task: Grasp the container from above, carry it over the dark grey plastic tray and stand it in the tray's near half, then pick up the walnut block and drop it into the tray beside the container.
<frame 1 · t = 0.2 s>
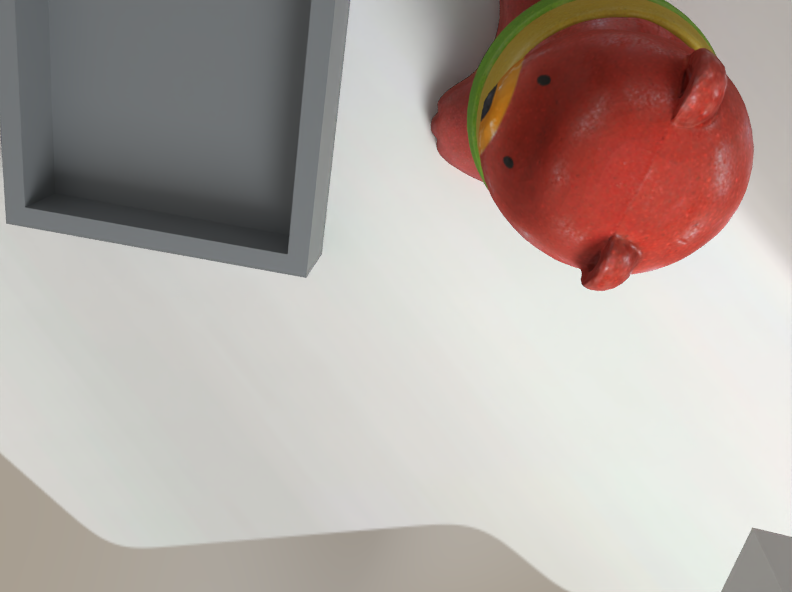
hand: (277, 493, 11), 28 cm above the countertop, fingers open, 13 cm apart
stacking bear: (566, 91, 35), on the countertop
tray: (189, 7, 35), on the countertop
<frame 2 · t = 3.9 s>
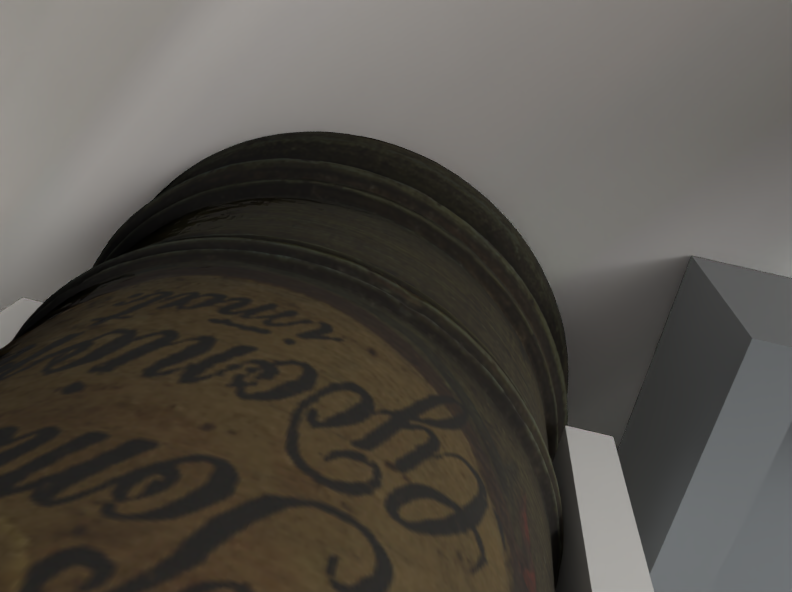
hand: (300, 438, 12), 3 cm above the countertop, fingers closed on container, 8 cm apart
container: (340, 344, 15), on the countertop, touching gripper
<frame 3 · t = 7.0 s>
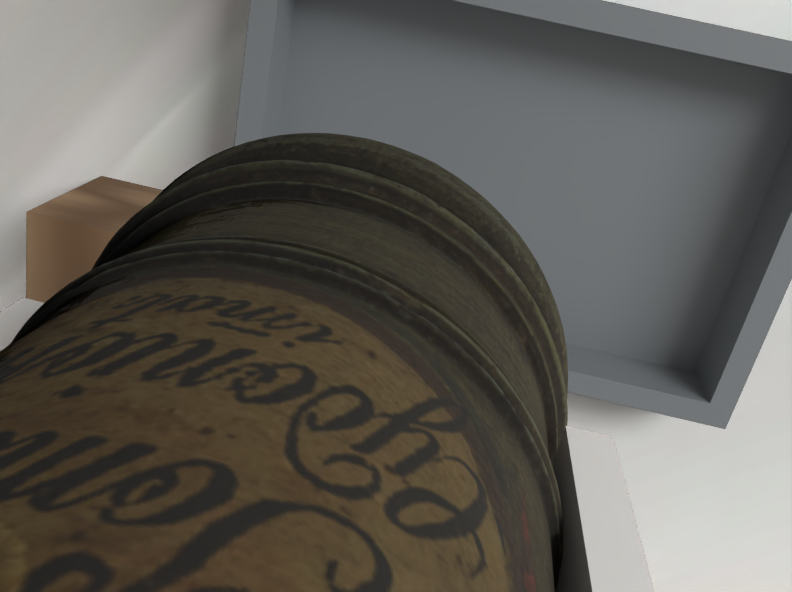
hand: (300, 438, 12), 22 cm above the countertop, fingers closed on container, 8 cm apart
walnut block: (141, 226, 35), on the countertop
container: (340, 345, 15), point 18 cm above the countertop, touching gripper
tray: (510, 178, 32), on the countertop
when the fingers open (6 cm above the countertop, at t = 10.2 s): container drops 1 cm, resting on tray.
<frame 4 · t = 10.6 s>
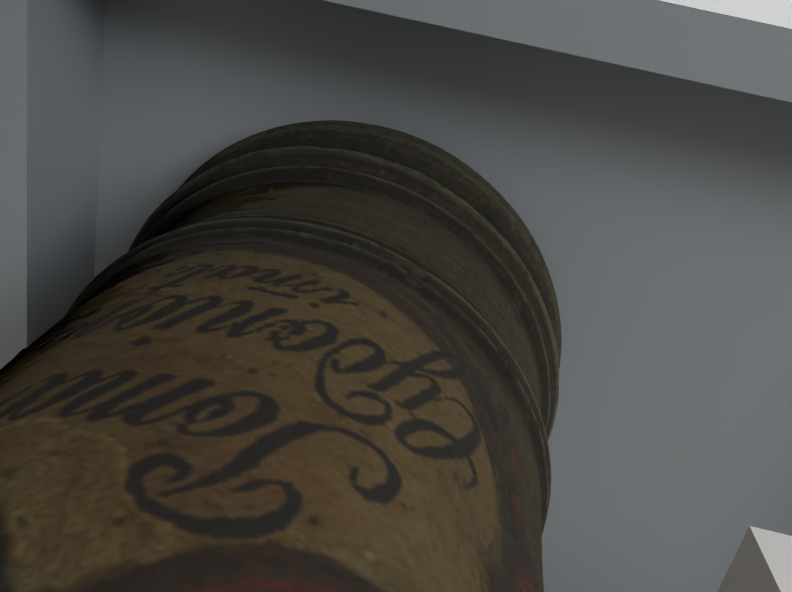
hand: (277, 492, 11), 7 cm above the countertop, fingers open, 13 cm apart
container: (353, 315, 17), point 1 cm above the countertop, touching tray
tray: (527, 341, 17), on the countertop
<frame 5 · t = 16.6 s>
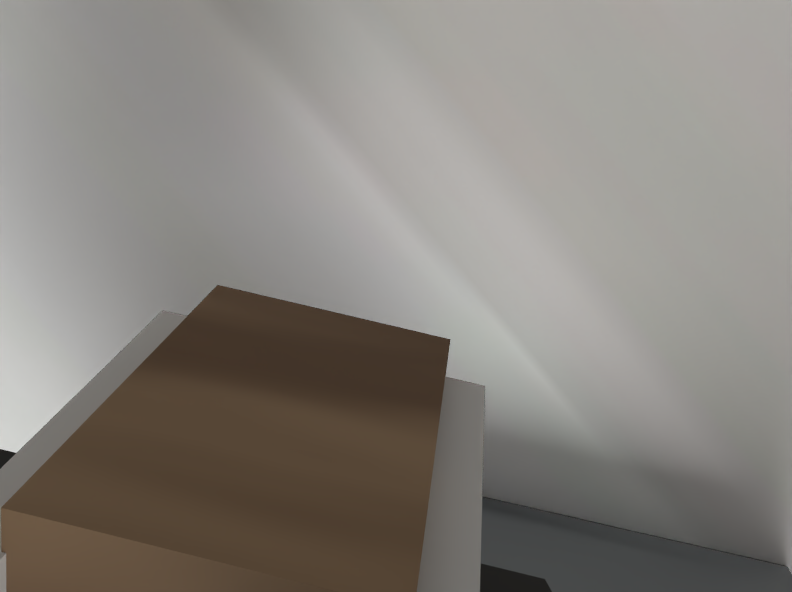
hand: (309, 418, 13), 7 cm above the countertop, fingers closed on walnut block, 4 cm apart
walnut block: (314, 413, 13), point 6 cm above the countertop, touching gripper
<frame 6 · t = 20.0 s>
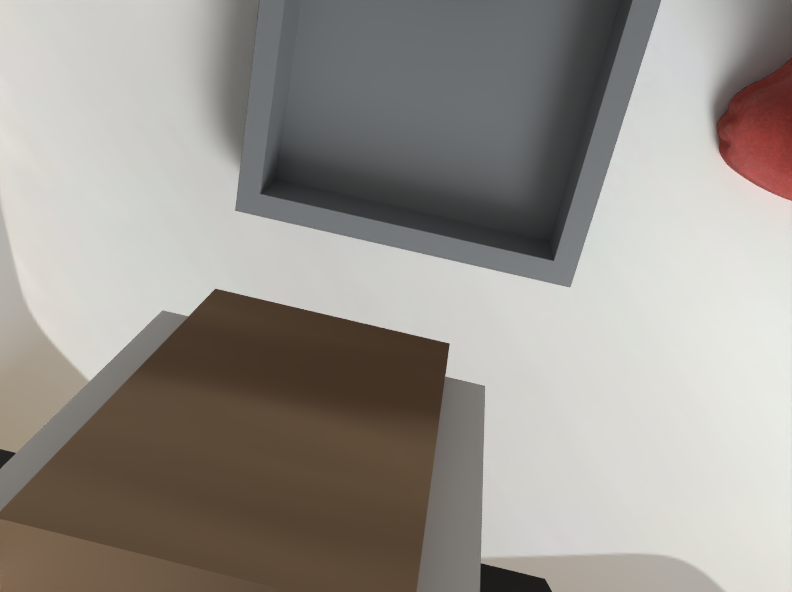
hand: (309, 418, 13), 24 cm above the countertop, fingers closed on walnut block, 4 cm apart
walnut block: (313, 417, 13), point 23 cm above the countertop, touching gripper
when the fingers open (2 cm above the countertop, at t = 23.3 s): walnut block stays where it is, resting on tray.
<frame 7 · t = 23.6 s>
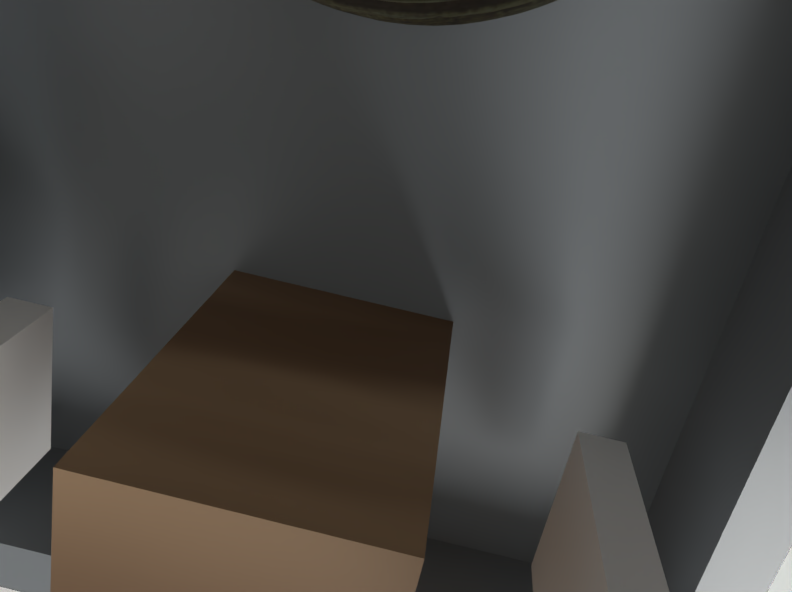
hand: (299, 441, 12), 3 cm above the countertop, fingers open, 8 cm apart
walnut block: (325, 391, 14), point 1 cm above the countertop, touching tray
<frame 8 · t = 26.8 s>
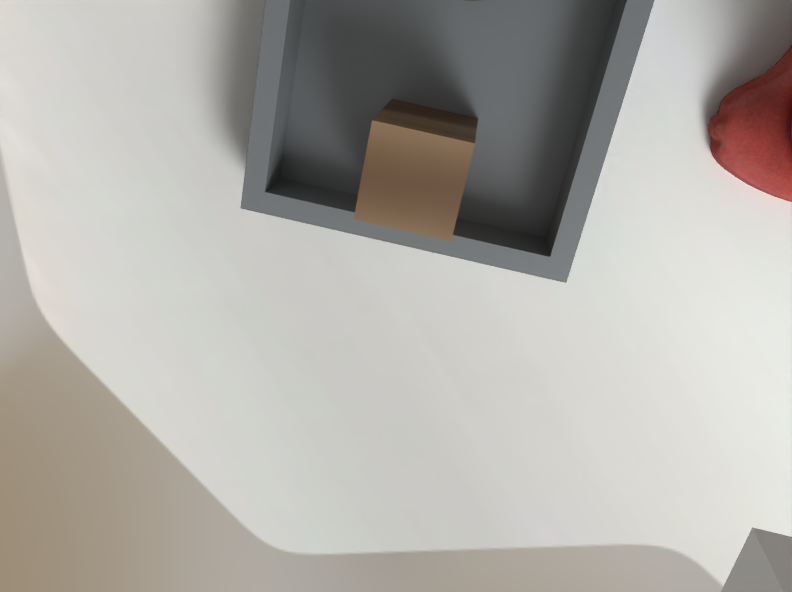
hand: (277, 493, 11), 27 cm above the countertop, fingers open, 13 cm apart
walnut block: (425, 151, 35), point 1 cm above the countertop, touching tray
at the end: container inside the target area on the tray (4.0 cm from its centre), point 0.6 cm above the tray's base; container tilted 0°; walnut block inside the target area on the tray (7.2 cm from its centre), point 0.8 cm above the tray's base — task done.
